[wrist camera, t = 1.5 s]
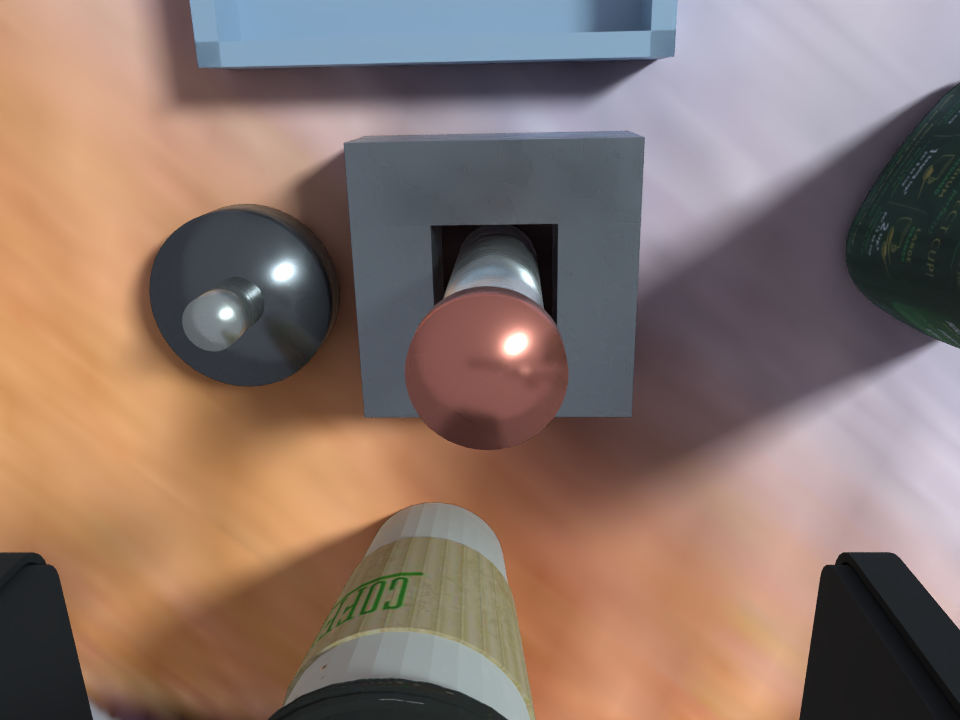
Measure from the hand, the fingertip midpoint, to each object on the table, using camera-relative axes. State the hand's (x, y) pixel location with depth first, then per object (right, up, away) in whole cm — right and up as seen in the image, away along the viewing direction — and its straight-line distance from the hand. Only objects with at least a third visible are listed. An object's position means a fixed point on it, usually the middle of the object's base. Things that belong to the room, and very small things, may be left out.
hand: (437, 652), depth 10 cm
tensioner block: (+1, +8, +22) cm, 23 cm away
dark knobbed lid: (-9, +7, +22) cm, 25 cm away
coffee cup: (-1, -6, +27) cm, 27 cm away
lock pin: (+1, +8, +22) cm, 23 cm away
